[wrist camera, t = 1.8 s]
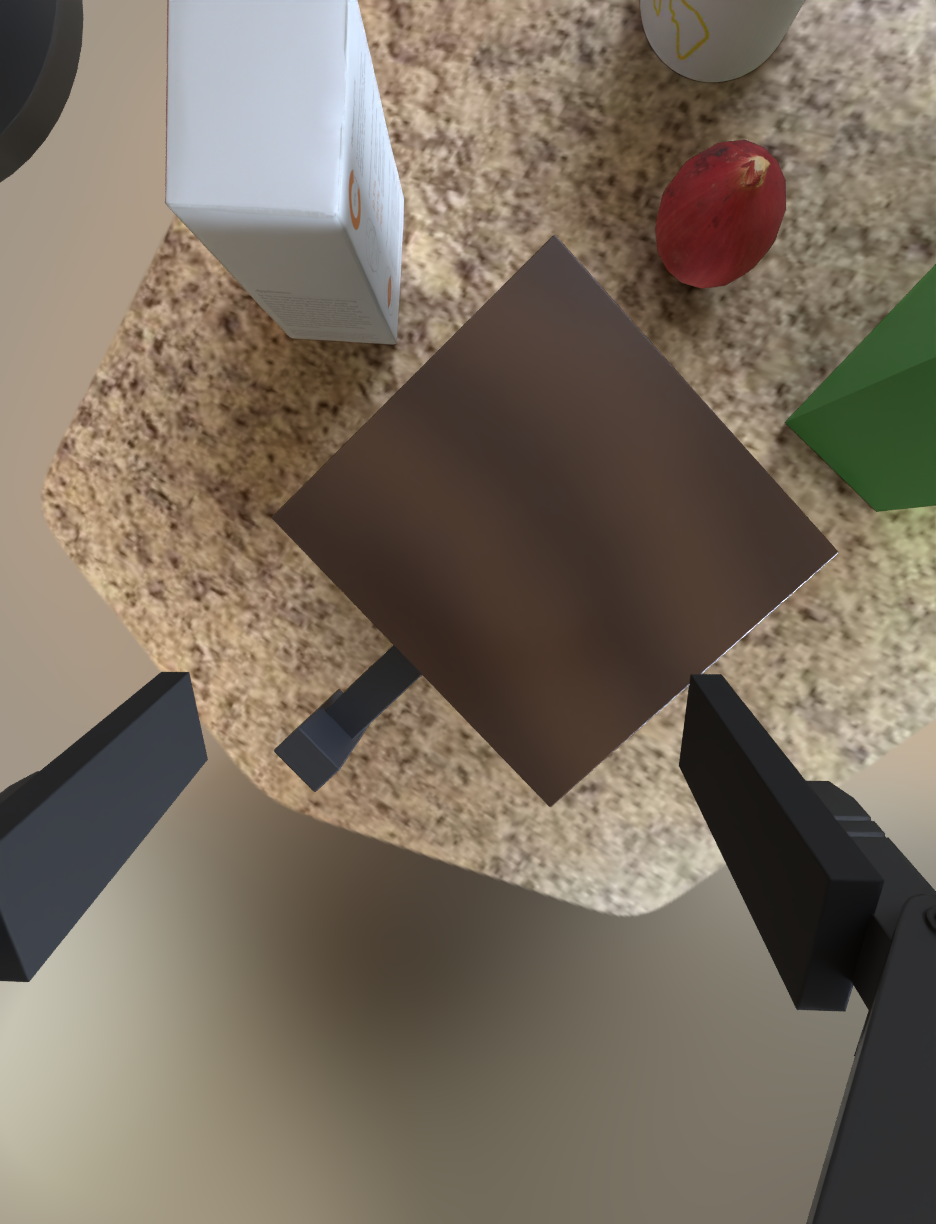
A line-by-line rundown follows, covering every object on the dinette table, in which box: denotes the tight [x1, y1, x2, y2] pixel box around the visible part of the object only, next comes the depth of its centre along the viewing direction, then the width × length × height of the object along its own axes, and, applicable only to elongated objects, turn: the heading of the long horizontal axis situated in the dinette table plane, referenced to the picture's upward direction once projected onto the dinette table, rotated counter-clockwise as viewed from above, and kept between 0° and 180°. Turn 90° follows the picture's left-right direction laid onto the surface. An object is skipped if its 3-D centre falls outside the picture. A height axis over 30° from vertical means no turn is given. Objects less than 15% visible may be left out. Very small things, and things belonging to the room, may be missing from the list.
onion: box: [655, 140, 786, 288], centre depth 28 cm, size 6×6×8 cm
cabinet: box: [272, 235, 839, 807], centre depth 27 cm, size 14×15×13 cm
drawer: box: [274, 645, 422, 792], centre depth 29 cm, size 20×11×10 cm, turn 133°
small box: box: [165, 0, 404, 345], centre depth 26 cm, size 8×6×13 cm
